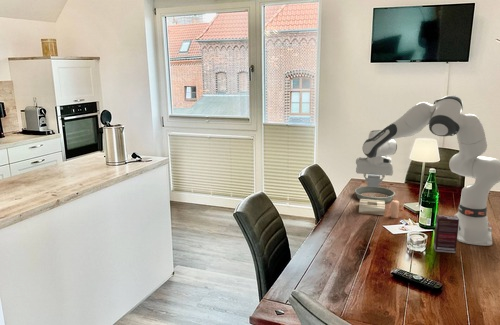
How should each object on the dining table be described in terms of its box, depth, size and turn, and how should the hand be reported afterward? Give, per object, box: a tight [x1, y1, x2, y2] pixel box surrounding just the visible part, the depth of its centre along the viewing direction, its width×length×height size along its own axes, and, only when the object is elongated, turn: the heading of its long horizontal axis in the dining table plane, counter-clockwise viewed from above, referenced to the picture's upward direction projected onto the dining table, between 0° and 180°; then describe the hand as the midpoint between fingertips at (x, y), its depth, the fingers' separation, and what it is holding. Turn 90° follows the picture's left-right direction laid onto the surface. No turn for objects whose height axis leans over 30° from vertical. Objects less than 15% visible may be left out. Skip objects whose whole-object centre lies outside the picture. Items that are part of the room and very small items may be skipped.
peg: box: [389, 199, 400, 219], centre depth 215 cm, size 4×4×9 cm
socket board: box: [358, 199, 386, 216], centre depth 227 cm, size 14×14×4 cm
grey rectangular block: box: [366, 174, 381, 188], centre depth 224 cm, size 11×6×5 cm, turn 162°
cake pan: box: [354, 185, 396, 204], centre depth 249 cm, size 25×25×4 cm
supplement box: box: [432, 214, 459, 254], centre depth 174 cm, size 9×5×16 cm, turn 74°
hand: (373, 181), depth 224 cm, fingers closed on grey rectangular block, 6 cm apart
